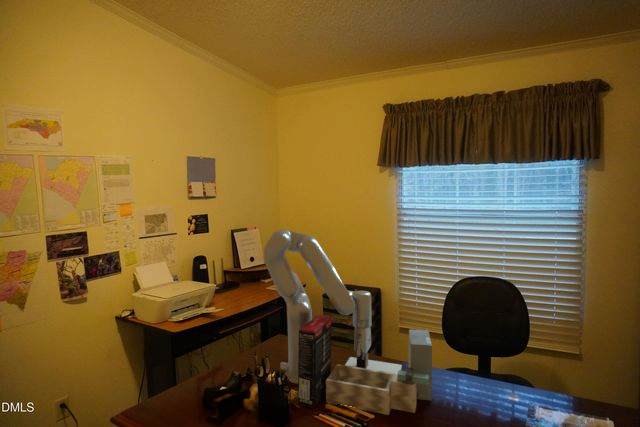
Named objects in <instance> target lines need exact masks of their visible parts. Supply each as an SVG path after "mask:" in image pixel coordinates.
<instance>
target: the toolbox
mask: <svg viewBox="0 0 640 427" xmlns="http://www.w3.org/2000/svg"><path fill="white" fill-rule="evenodd" d="M406 371H407V372H406V381H401V380H397V375H395V373H390V372H384V371H378V370H371V369H365V368H359V367H353V366H346V365H345V364H341V363H340V364H338V363H337V364H336V365H335V367H334V368H333V370H331V374H330V375H329V377H328V378H327V379H326V393H325V401H326V402H325V403H328V404H333V405H337V404H342V405H347V406H352V407H355V408H354V409H357V408H358V409H357V410H362V411H366V412H367V411H368V412H371V413H378V414H383V415H385V416H386V415H387V416H389V415H390V412H391V410H392V409H393V410H399V411H403V412H408V413H413V414H415V413H416V410H417V399H416V383H413V382H412V375H413V372H414V368H409V367H407V369H406ZM342 405H341V406H342ZM347 406H346V407H347ZM352 407H351V408H352Z"/></svg>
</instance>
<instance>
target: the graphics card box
mask: <svg viewBox="0 0 640 427" xmlns="http://www.w3.org/2000/svg"><path fill="white" fill-rule="evenodd" d="M331 372H332V316H331V315H322V314H320V315H316V316H314V318H313V317H312V320H311V321H310V322H308V323H307V324H306V325H305V326H303V327H302V328H301V329H299V355H298V384H297V386H298V387H297V389H298V390H297V405H298V406H301V407H305V408H311V409H315V408H316V407H317V405H318V404H319V402H320V401H321V399H322V398H323V397H324V396H325V395H326V379H327V378H328V377H329V375H330V374H331Z"/></svg>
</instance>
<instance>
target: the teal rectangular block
mask: <svg viewBox="0 0 640 427" xmlns="http://www.w3.org/2000/svg"><path fill="white" fill-rule="evenodd" d="M406 372H407V370H406V371H405V370H399V371H398V374H397V380H401V381H406ZM428 381H429V375H426V374H420V373H414V372H413V375H412V382H413V383H419V384H425V385H428Z"/></svg>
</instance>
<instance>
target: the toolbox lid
mask: <svg viewBox="0 0 640 427" xmlns="http://www.w3.org/2000/svg"><path fill="white" fill-rule="evenodd" d="M361 354H362V353H361ZM364 359H365V369H371V370H378V371H384V372H390V373H395V375H397V374H398V371H399V370H401V371H403V370H402V369H403V364H399V363H392V362H391V363H390V362H385V361H381V360H380V361H379V360H372V359H369V352H367V353H364ZM344 365H346V366H353V367H357V357H353V356H350V357H349V358H348V360H347V361H346V363H345V364H344Z"/></svg>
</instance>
